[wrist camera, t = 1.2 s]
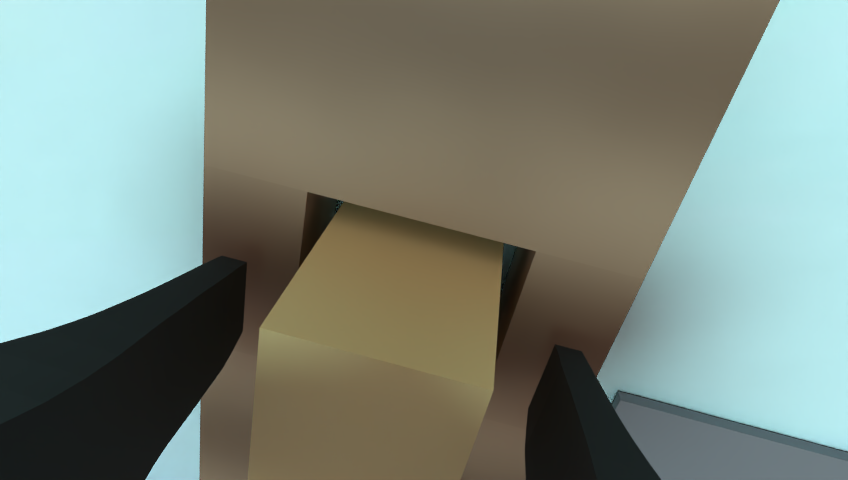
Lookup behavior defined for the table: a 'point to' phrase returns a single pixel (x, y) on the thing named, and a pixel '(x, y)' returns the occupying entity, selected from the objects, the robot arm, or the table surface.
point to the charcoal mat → (721, 446)
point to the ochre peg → (378, 354)
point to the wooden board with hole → (462, 160)
